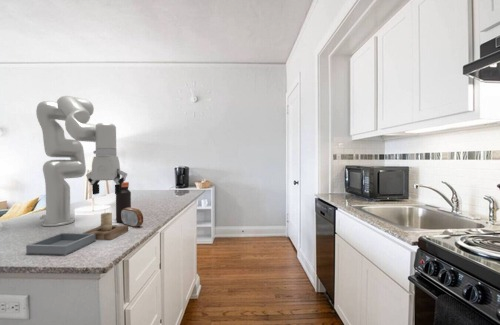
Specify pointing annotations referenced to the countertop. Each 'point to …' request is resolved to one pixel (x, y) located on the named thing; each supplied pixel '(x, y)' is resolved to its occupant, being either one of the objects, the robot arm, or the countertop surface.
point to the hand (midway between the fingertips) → (107, 193)
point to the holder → (108, 232)
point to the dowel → (106, 221)
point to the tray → (60, 244)
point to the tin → (132, 217)
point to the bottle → (122, 201)
